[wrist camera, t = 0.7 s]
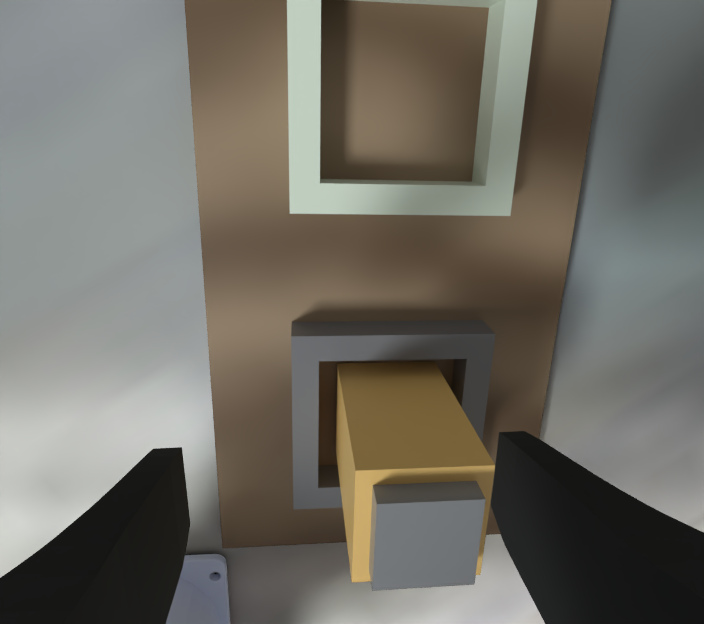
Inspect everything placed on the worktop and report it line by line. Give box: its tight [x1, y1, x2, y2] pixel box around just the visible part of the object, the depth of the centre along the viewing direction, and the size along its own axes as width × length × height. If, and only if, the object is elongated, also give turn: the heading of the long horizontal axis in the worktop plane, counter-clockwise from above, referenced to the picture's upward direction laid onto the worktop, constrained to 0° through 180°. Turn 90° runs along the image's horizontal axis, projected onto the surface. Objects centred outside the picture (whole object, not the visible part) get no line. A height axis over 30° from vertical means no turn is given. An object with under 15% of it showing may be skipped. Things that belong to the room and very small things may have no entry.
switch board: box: [185, 0, 612, 548], centre depth 21 cm, size 26×14×1 cm, turn 178°
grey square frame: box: [291, 320, 496, 510], centre depth 21 cm, size 8×8×2 cm
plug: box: [336, 362, 495, 591], centre depth 18 cm, size 4×4×8 cm
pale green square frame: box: [287, 0, 537, 216], centre depth 17 cm, size 8×8×2 cm
